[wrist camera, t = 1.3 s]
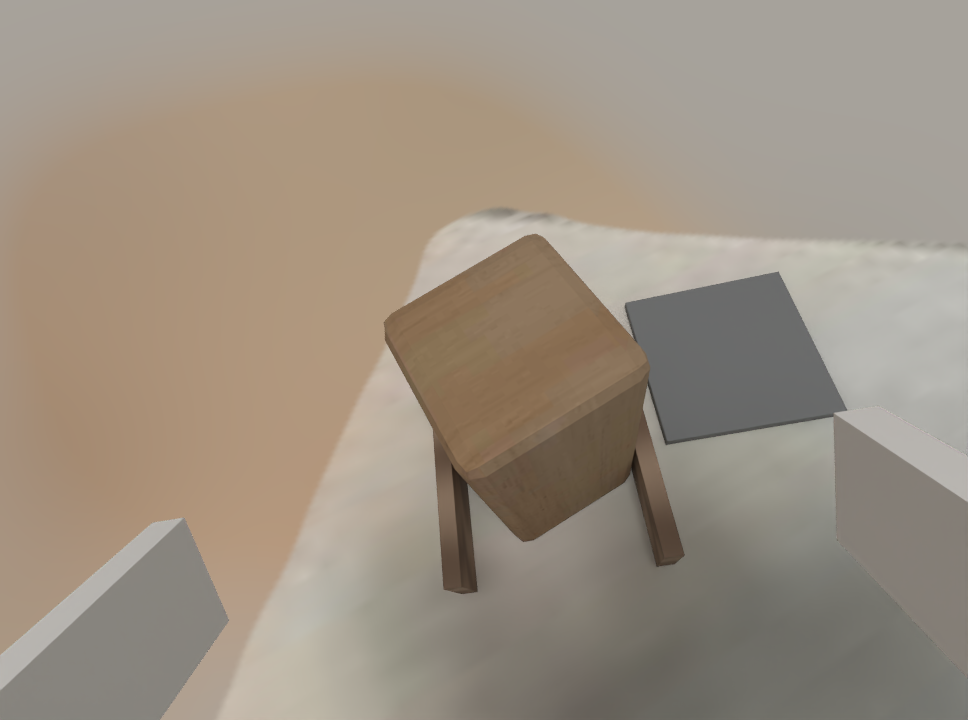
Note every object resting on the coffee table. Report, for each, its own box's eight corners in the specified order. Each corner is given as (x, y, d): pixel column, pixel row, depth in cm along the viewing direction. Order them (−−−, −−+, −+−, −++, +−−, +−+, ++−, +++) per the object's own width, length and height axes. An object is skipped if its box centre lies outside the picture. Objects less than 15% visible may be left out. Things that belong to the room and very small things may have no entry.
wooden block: (462, 441, 43) (370, 316, 26) (562, 380, 44) (537, 219, 27) (523, 549, 38) (460, 483, 21) (634, 478, 39) (662, 358, 22)
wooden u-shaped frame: (674, 564, 36) (684, 555, 31) (461, 594, 38) (443, 589, 33) (616, 354, 44) (618, 324, 40) (444, 387, 46) (428, 362, 42)
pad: (843, 414, 38) (847, 410, 37) (666, 444, 40) (667, 441, 39) (775, 277, 44) (778, 271, 44) (625, 307, 46) (625, 302, 45)
